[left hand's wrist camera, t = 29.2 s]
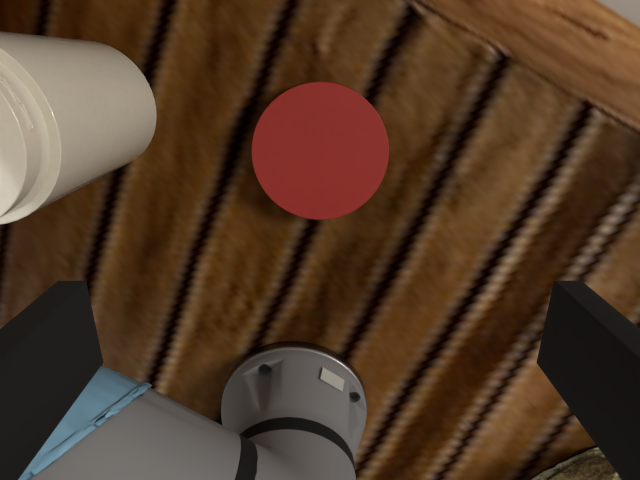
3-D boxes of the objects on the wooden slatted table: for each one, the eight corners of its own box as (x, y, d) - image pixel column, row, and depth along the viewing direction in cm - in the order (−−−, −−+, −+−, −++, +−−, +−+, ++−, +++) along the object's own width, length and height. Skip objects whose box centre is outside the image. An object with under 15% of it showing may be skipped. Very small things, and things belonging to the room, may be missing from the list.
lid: (265, 216, 41) (262, 225, 38) (245, 88, 37) (241, 90, 34) (387, 205, 40) (391, 213, 38) (381, 74, 36) (385, 74, 34)
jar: (105, 14, 35) (-76, -28, 19) (180, 133, 38) (80, 183, 22) (4, 80, 36) (-239, 92, 21) (84, 188, 40) (-72, 271, 24)
